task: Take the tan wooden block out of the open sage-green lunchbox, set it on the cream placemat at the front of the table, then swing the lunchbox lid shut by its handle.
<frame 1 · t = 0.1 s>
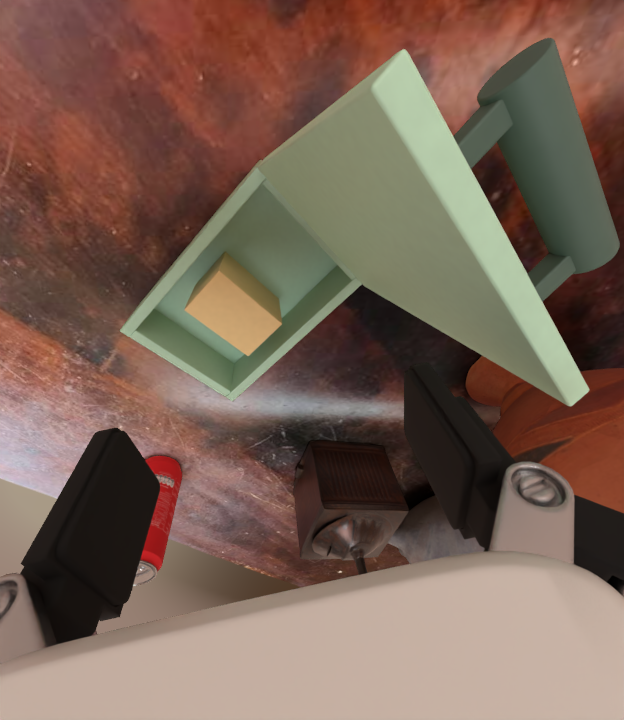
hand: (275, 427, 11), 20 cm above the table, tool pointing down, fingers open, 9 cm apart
lunchbox lid: (402, 211, 15), point 13 cm above the table, hinge at 100.0°
beverage can: (162, 466, 40), on the table
goblet: (499, 372, 39), on the table
piggy bank: (427, 507, 54), on the table
tan wooden block: (238, 292, 29), point 1 cm above the table, touching lunchbox
lunchbox: (246, 281, 29), on the table
manual coffee grinder: (329, 479, 46), on the table
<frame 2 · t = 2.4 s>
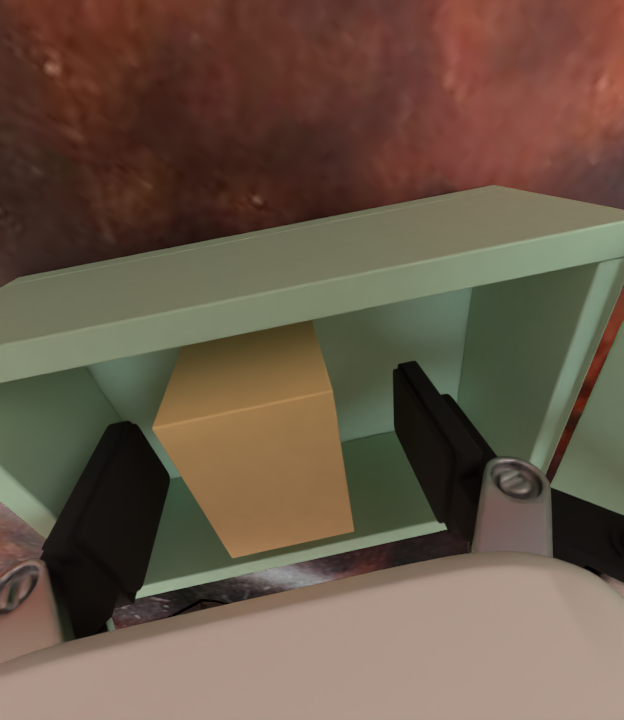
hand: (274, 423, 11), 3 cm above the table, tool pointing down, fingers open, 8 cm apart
tan wooden block: (268, 378, 13), point 1 cm above the table, touching lunchbox
lunchbox: (291, 362, 14), on the table
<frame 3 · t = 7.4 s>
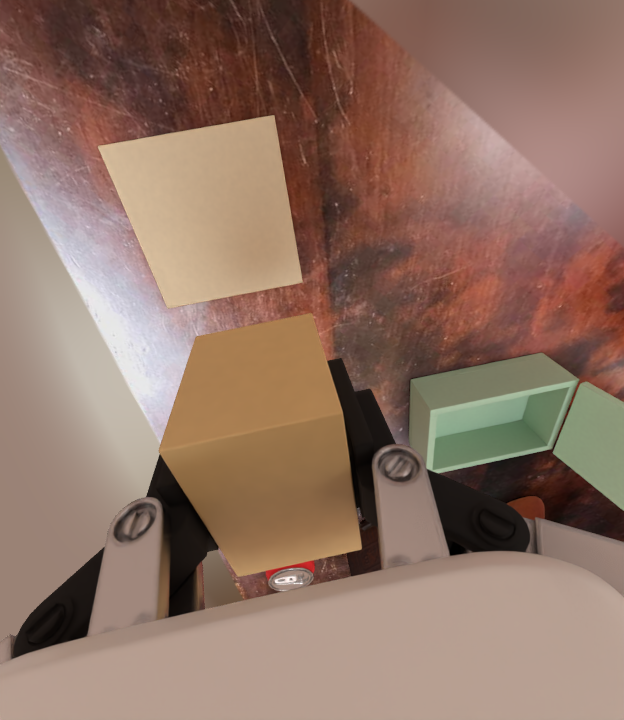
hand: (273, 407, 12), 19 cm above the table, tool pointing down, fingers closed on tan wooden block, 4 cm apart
beverage can: (283, 481, 44), on the table
goblet: (516, 510, 57), on the table
tan wooden block: (273, 391, 13), point 18 cm above the table, touching gripper
placemat: (214, 222, 26), on the table
lunchbox: (470, 400, 40), on the table
manual coffee grinder: (370, 536, 55), on the table
when the fingers open (1 cm above the table, at t = 12.1 s): tan wooden block stays where it is, resting on placemat.
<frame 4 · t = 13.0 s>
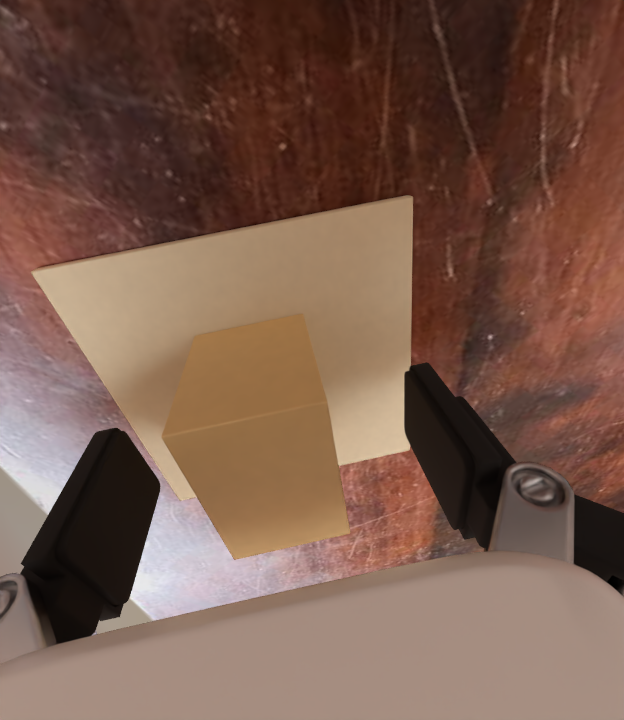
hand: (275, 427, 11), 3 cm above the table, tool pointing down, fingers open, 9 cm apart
tan wooden block: (268, 388, 14), resting on placemat
placemat: (269, 378, 14), on the table
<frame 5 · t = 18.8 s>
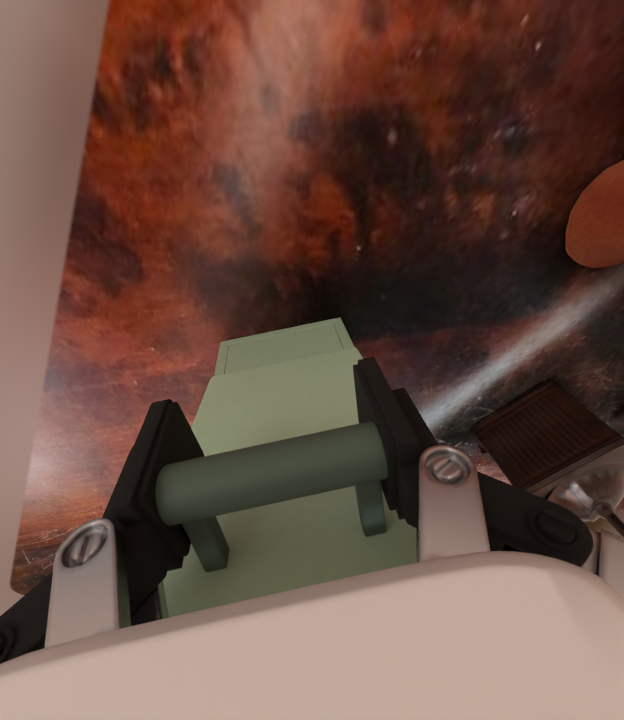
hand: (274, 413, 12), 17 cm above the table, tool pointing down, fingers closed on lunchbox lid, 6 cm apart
lunchbox lid: (281, 402, 15), point 13 cm above the table, hinge at 100.0°, touching gripper
goblet: (616, 212, 27), on the table
lunchbox: (296, 396, 33), on the table
manual coffee grinder: (526, 435, 41), on the table
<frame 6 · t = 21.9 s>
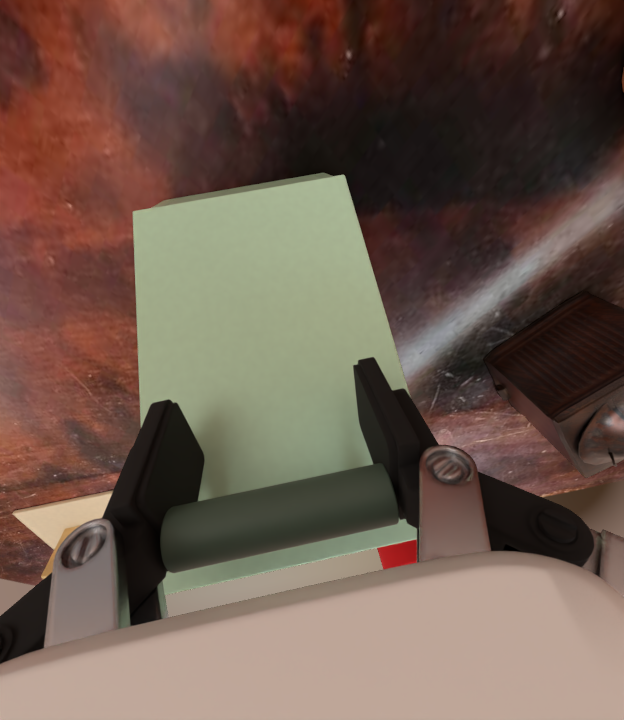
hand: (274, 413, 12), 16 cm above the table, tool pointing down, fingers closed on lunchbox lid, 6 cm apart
lunchbox lid: (258, 330, 12), point 13 cm above the table, hinge at 51.6°, touching gripper
beverage can: (377, 473, 40), on the table
placemat: (100, 528, 38), on the table
lunchbox: (269, 297, 26), on the table
manual coffee grinder: (548, 371, 35), on the table
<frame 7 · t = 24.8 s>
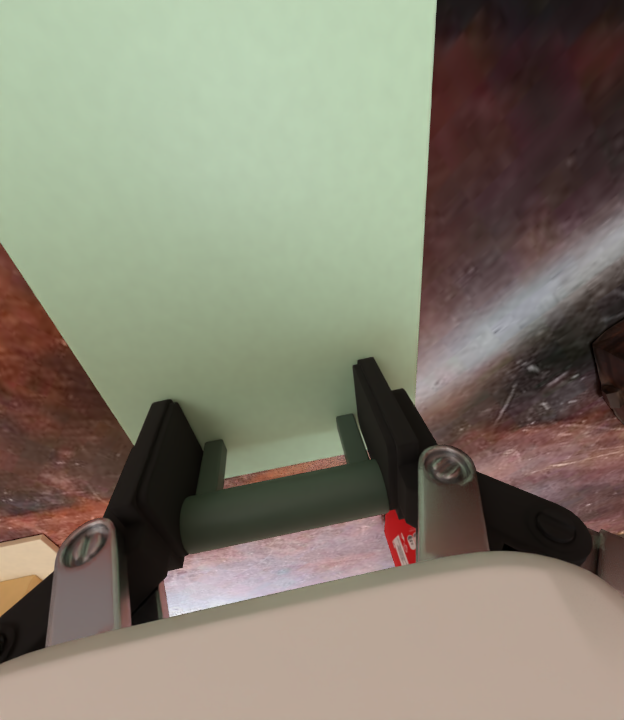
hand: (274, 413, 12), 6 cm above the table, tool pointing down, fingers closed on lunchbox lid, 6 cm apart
lunchbox lid: (235, 299, 8), point 8 cm above the table, hinge at -0.2°, touching gripper, lunchbox
beverage can: (408, 509, 28), on the table
tan wooden block: (12, 593, 26), resting on placemat
placemat: (12, 587, 27), on the table
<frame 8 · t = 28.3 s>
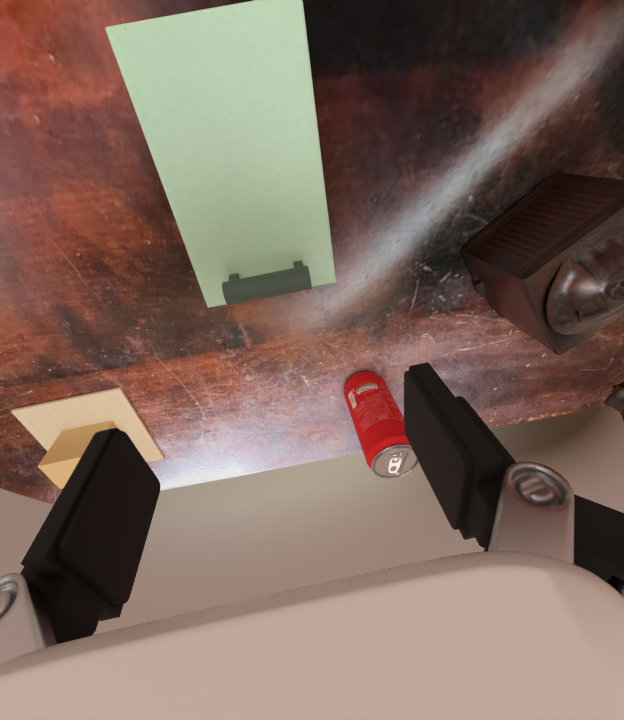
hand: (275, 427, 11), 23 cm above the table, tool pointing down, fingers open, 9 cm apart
lunchbox lid: (244, 184, 21), point 8 cm above the table, hinge at -0.2°, touching lunchbox
beverage can: (362, 384, 41), on the table
tan wooden block: (95, 437, 39), resting on placemat
placemat: (95, 435, 40), on the table
manual coffee grinder: (526, 269, 36), on the table
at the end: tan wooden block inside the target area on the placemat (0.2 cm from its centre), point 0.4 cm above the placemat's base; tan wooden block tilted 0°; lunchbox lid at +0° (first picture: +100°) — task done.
